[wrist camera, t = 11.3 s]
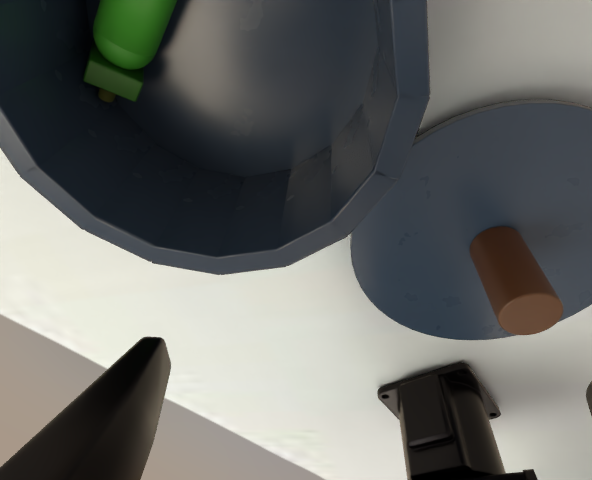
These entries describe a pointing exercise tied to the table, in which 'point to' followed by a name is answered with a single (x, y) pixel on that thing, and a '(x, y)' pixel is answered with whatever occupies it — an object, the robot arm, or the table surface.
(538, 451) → the table surface
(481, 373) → the table surface
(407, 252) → the pot lid
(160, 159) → the pot
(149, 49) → the zucchini
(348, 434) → the table surface
